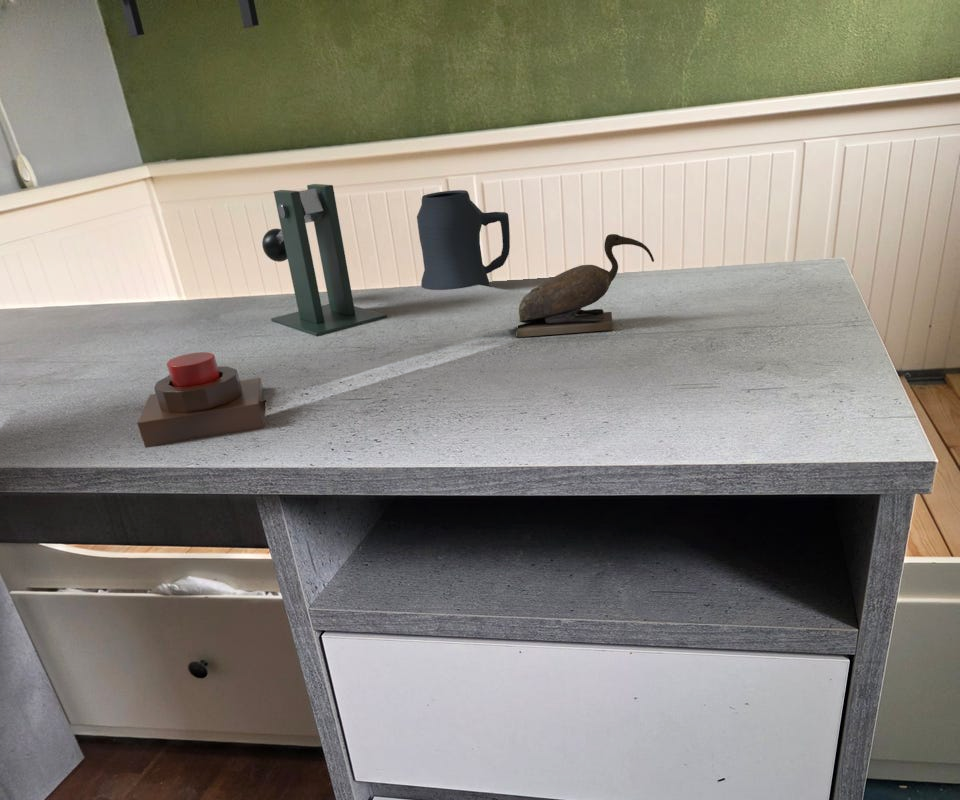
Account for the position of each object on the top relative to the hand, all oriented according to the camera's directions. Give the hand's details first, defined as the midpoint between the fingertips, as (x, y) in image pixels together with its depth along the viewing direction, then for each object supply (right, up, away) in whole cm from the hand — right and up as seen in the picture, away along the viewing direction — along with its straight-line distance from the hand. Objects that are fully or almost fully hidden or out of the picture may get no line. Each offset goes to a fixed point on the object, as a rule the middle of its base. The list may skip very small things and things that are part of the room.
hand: (196, 31), depth 100 cm
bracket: (+15, -33, +2) cm, 36 cm away
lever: (+11, -24, 0) cm, 26 cm away
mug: (+31, -25, +12) cm, 41 cm away
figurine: (+43, -37, -8) cm, 57 cm away
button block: (+8, -50, -22) cm, 55 cm away
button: (+8, -47, -24) cm, 53 cm away
